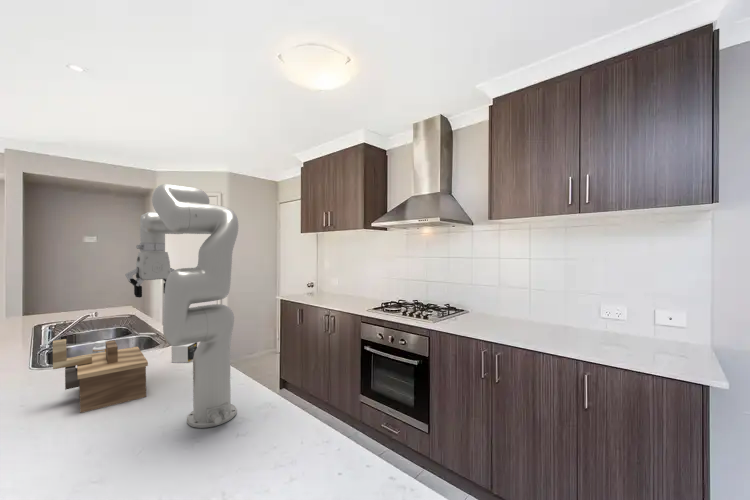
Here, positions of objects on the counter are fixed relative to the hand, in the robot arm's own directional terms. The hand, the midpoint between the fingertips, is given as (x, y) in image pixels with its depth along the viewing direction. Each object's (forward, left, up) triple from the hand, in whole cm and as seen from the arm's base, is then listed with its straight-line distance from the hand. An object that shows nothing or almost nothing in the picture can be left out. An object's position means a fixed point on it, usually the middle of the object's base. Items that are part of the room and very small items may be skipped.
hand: (153, 295), depth 124 cm
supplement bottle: (+29, +13, -31) cm, 45 cm away
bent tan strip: (-5, +22, -19) cm, 29 cm away
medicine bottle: (+16, -14, -31) cm, 37 cm away
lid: (-5, +12, -20) cm, 24 cm away
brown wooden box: (-5, +14, -30) cm, 34 cm away
